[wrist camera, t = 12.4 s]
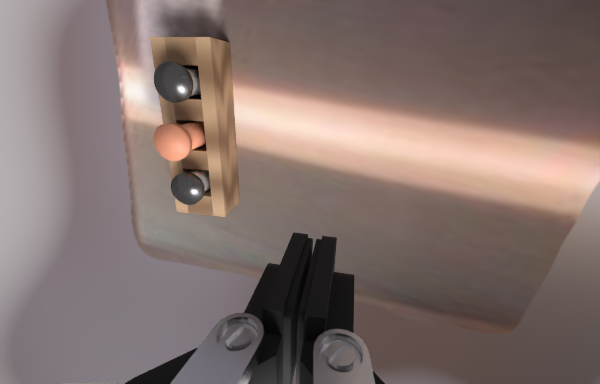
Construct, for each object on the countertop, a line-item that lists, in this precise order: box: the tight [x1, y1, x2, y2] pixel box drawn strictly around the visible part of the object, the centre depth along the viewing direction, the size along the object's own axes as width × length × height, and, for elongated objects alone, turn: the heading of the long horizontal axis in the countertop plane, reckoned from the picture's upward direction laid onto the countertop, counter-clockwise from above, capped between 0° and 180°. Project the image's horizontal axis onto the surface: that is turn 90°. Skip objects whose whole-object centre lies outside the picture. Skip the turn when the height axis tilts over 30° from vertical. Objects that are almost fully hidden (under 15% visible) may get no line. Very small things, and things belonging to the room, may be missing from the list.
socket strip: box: [150, 37, 240, 217], centre depth 36 cm, size 21×7×5 cm, turn 179°
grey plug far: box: [171, 169, 211, 205], centre depth 37 cm, size 4×4×7 cm
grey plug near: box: [154, 62, 201, 103], centre depth 33 cm, size 4×4×7 cm
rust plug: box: [154, 121, 206, 161], centre depth 33 cm, size 4×4×7 cm
